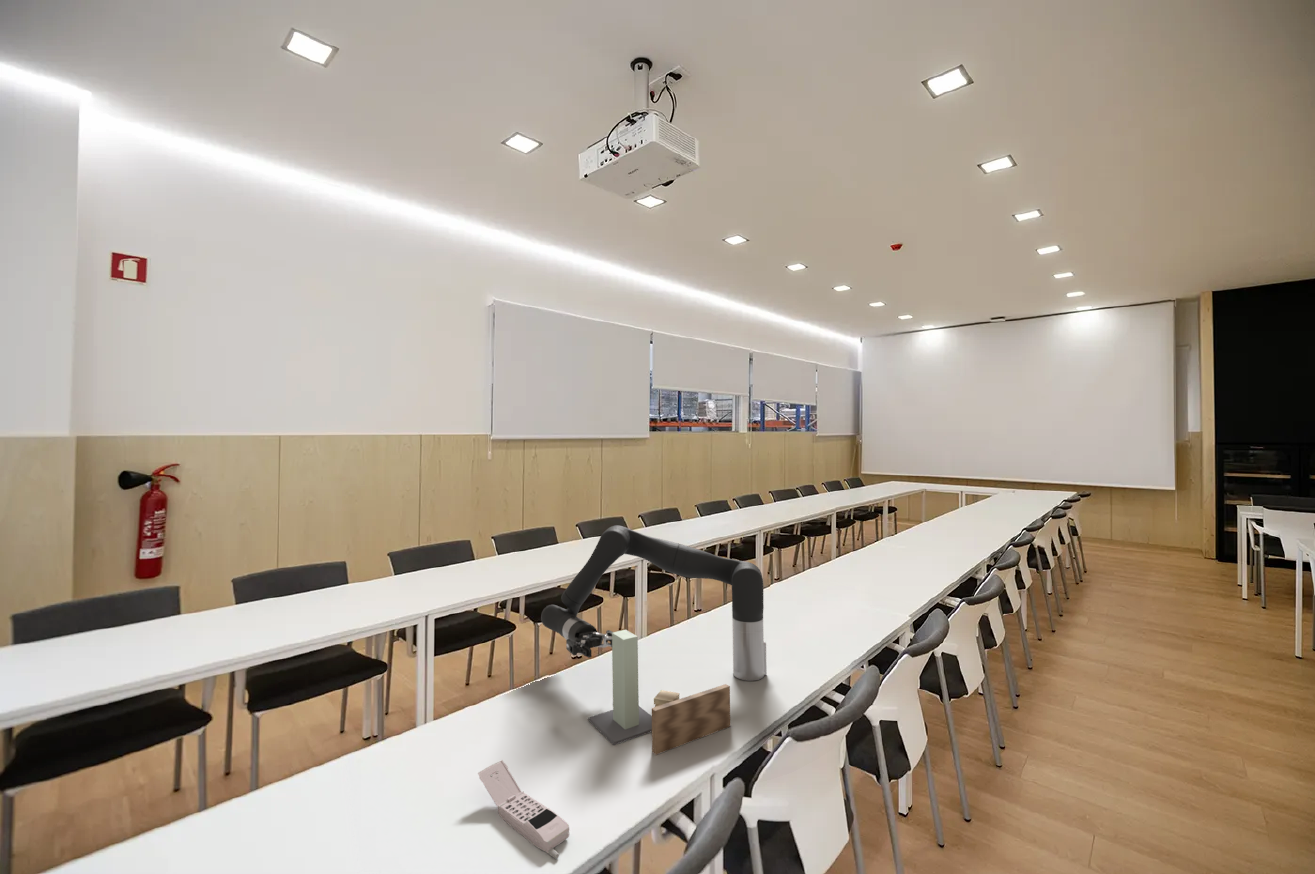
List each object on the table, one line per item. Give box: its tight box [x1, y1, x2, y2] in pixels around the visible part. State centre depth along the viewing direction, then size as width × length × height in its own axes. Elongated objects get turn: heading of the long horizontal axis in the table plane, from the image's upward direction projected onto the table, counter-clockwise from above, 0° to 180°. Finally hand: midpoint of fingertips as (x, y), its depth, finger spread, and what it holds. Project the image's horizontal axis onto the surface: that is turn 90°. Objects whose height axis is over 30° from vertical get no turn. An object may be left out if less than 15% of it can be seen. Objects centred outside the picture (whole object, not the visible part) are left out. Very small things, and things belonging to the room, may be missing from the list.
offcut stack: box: [653, 689, 680, 707], centre depth 145 cm, size 7×7×4 cm
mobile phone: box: [477, 759, 570, 859], centre depth 105 cm, size 6×6×25 cm
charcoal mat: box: [587, 705, 652, 746], centre depth 140 cm, size 14×14×1 cm
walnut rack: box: [651, 683, 731, 756], centre depth 135 cm, size 22×8×10 cm, turn 123°
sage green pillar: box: [611, 629, 640, 729], centre depth 139 cm, size 4×6×22 cm, turn 33°
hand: (604, 650), depth 149 cm, fingers open, 8 cm apart
